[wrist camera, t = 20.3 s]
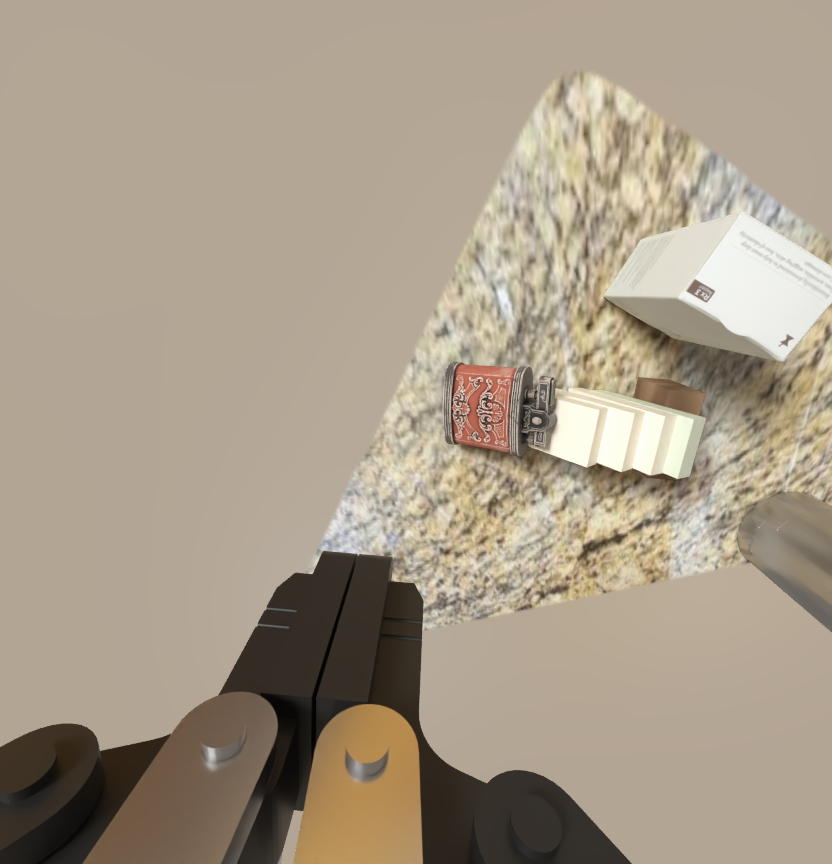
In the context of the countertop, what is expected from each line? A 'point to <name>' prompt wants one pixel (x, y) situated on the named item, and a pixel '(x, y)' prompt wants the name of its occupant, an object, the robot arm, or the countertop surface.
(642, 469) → the domino
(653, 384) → the block
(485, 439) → the lighter
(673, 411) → the domino
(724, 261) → the skincare box
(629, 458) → the domino
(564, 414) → the domino
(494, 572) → the countertop surface
